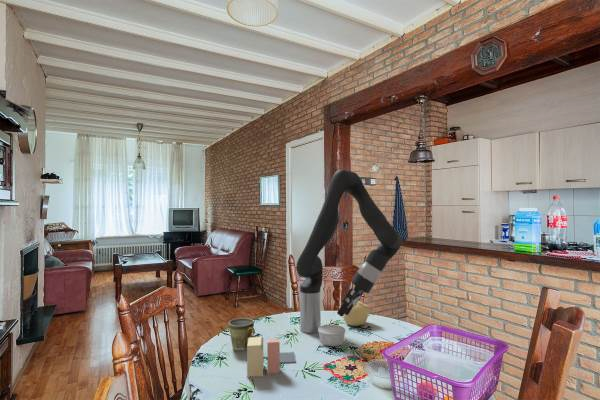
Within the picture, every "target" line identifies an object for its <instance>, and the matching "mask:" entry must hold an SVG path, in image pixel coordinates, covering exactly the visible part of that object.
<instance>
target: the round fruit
mask: <svg viewBox="0 0 600 400" xmlns="http://www.w3.org/2000/svg"><path fill="white" fill-rule="evenodd" d="M369 316H370V306H369V305H367V304H366V303H363V302H362V301H361V300H359V301H358V303H357V305H355V306H354V307H353V308H352V310H351V311H350V313H349V314H348V315H346V314H344V315H343V316H342V318H343V320H344V322H345V323H346V325H349V326H355V327H356V326H357V327H358V326H363V325H364V324H366V322H367V320H368V318H369Z"/></svg>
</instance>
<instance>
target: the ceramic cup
mask: <svg viewBox="0 0 600 400" xmlns="http://www.w3.org/2000/svg"><path fill="white" fill-rule="evenodd" d="M254 327H255V319H252V318H249V317H238V318H233V319H231V320H229V321H228V329H229V330H228V331H229V334H230V340H231V341H230V342H231V346H232V349H233V350H234V349H235V351H237V350H244V351H247V350H246V349H247V344H248V338H252V337H254V335H255V333H256V332H255V331H256V330H255V328H254Z"/></svg>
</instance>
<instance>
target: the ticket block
mask: <svg viewBox="0 0 600 400" xmlns="http://www.w3.org/2000/svg"><path fill="white" fill-rule="evenodd" d="M246 352H247V353H246V372H247V373H246V377H247V378H258V376H260V377H261V376H262V377H263V376H264V377H266V376H267V375H266V374H267V371H266V369H267V367H266V366H264V337H263V336H261V337H260V336H258V337H257V336H255V337H254V336H252V337H251V338H248V344H247V350H246ZM250 376H251V377H250ZM252 376H253V377H252ZM255 376H257V377H255ZM260 377H259V378H260Z"/></svg>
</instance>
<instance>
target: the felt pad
mask: <svg viewBox="0 0 600 400" xmlns="http://www.w3.org/2000/svg"><path fill="white" fill-rule="evenodd" d="M280 364H296V357H295V352H294V351H291V352H289V351H287V352H280Z"/></svg>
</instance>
